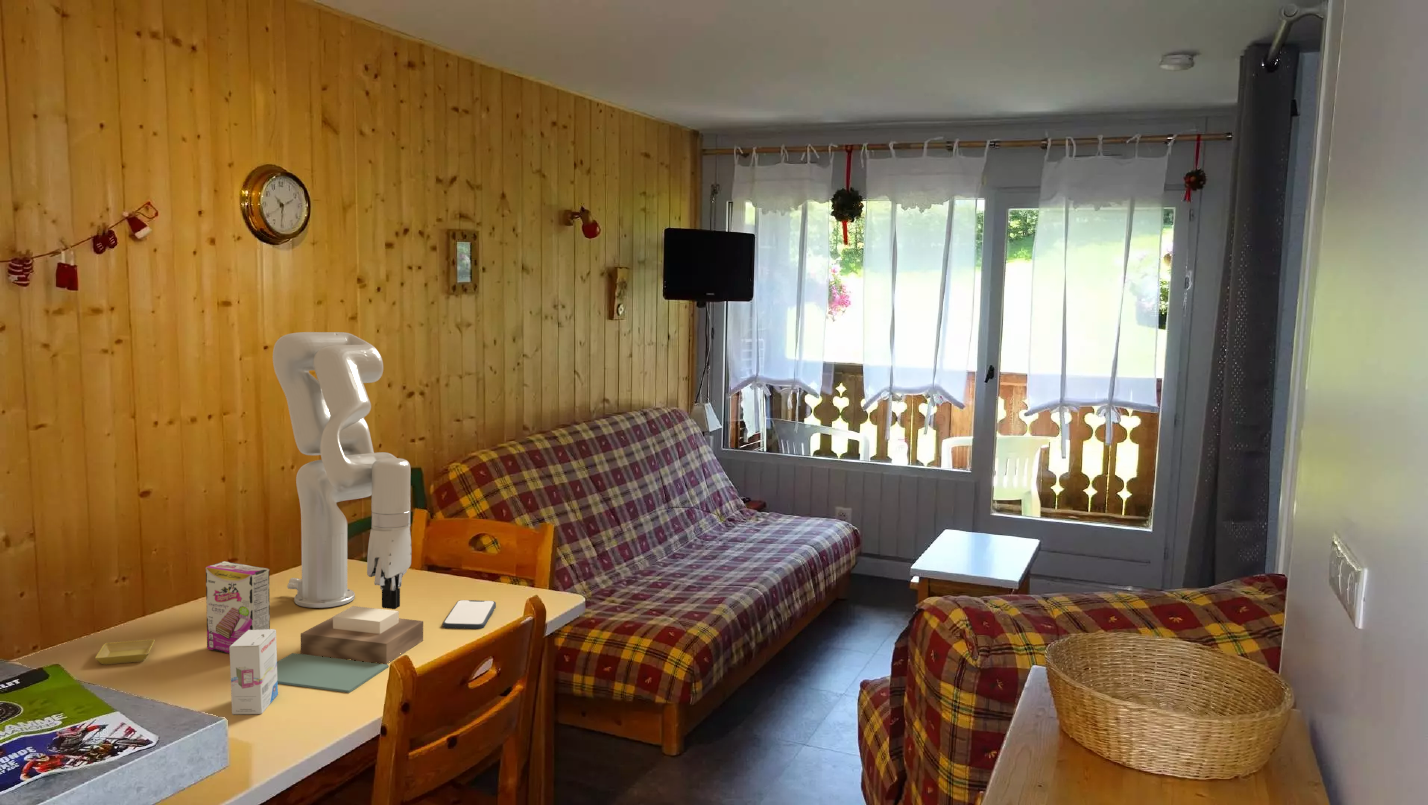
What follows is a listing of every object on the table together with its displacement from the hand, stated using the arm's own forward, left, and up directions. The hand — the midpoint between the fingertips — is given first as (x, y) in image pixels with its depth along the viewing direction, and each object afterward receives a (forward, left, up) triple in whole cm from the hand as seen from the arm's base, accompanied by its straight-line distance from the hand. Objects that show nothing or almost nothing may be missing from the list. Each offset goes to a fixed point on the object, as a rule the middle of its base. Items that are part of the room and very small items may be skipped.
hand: (390, 607), depth 211 cm
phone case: (+11, +14, -6) cm, 18 cm away
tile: (0, -9, 0) cm, 9 cm away
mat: (0, -25, -5) cm, 25 cm away
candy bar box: (-21, -19, -5) cm, 29 cm away
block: (0, -10, -5) cm, 11 cm away
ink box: (-2, -40, -5) cm, 41 cm away
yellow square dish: (-38, -28, -6) cm, 48 cm away
